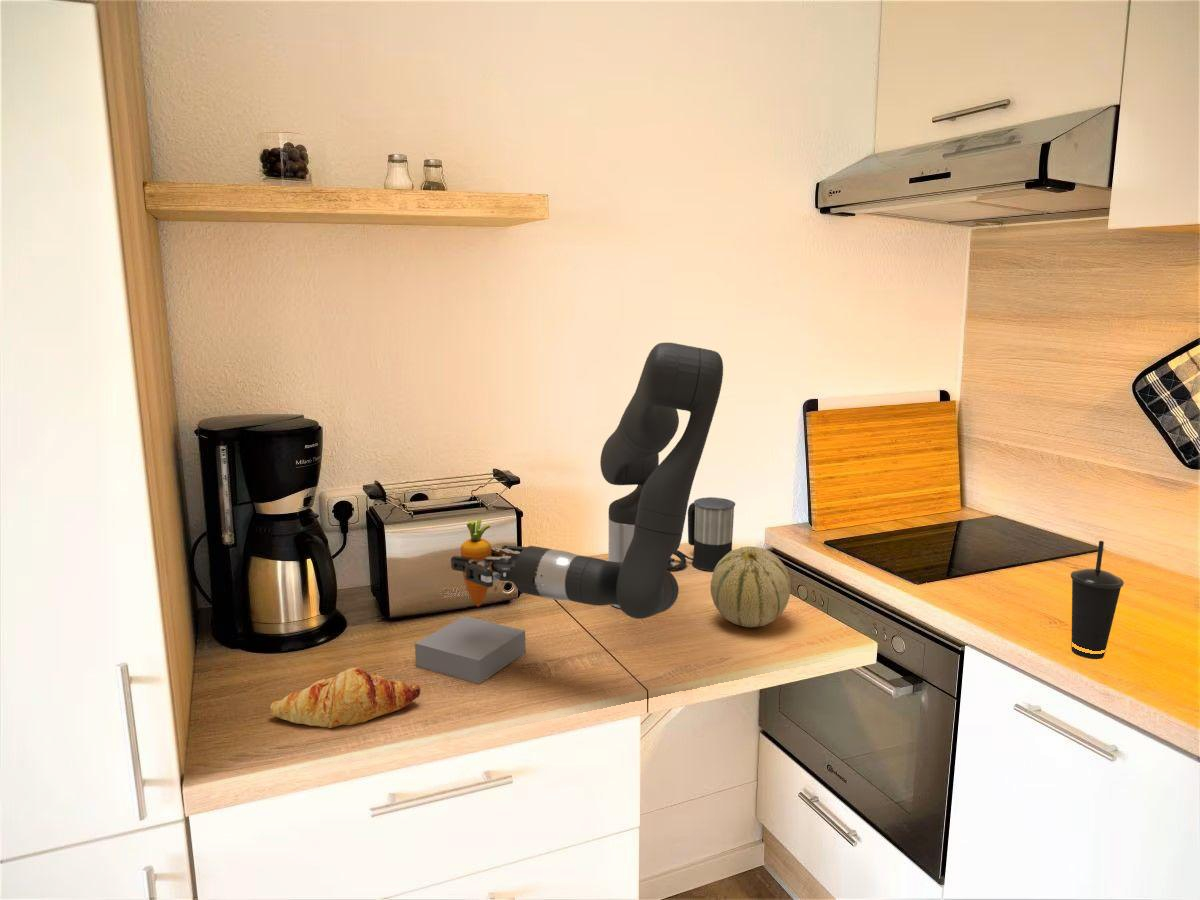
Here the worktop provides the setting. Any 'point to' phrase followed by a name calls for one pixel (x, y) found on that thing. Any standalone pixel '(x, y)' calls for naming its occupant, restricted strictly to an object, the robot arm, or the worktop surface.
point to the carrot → (476, 550)
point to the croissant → (345, 699)
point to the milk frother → (708, 533)
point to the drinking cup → (1093, 607)
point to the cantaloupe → (750, 586)
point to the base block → (470, 649)
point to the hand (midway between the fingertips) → (463, 557)
